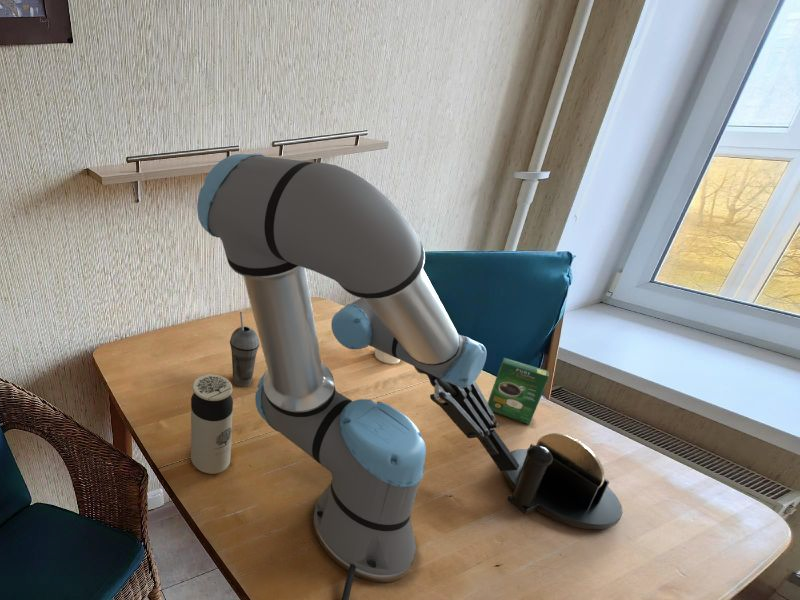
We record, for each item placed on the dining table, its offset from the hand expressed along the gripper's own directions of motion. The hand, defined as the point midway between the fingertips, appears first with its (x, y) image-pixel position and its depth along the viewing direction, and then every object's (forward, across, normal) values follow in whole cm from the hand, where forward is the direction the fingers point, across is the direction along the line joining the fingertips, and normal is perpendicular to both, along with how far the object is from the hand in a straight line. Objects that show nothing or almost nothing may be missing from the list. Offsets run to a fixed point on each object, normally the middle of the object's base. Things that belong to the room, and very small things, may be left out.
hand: (509, 468), depth 74 cm
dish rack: (+8, +7, 0) cm, 11 cm away
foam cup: (-18, +29, +29) cm, 45 cm away
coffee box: (+2, +27, +9) cm, 29 cm away
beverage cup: (-32, -9, +42) cm, 54 cm away
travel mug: (-23, -33, +34) cm, 52 cm away
